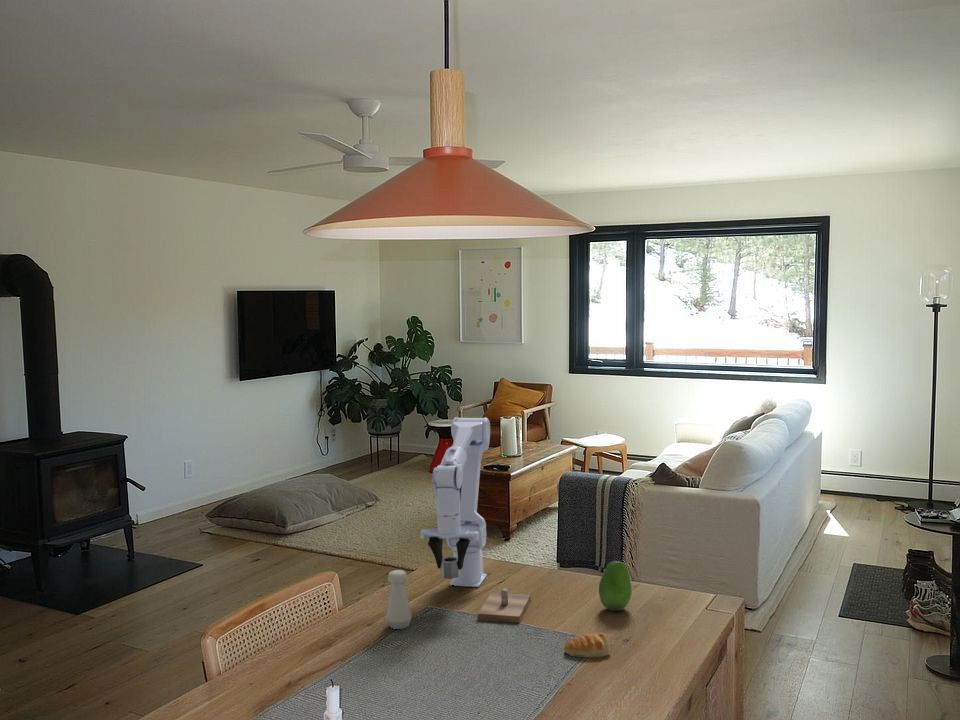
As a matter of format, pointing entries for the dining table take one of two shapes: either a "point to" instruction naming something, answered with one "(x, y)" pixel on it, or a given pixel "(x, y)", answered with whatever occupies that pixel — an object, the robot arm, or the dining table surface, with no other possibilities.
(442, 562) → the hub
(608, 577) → the avocado
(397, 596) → the salt shaker
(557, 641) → the dining table surface
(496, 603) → the shaft block
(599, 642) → the pastry
